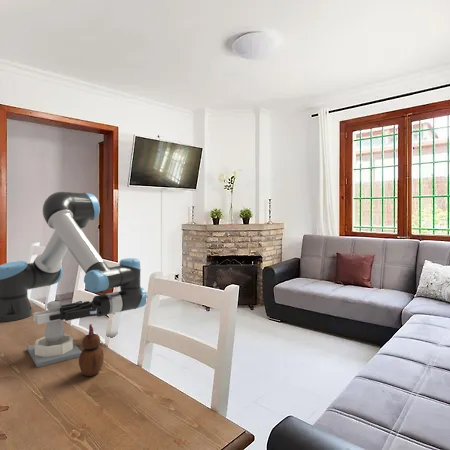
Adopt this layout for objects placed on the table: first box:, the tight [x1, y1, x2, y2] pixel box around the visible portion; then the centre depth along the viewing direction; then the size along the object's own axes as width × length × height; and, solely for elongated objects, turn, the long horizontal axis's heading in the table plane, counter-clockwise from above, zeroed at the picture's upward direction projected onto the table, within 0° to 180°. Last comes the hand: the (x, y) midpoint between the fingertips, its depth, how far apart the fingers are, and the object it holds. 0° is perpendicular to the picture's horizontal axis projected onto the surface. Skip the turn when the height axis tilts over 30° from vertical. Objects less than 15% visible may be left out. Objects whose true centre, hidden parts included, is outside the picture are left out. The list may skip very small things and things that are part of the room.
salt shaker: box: [44, 300, 65, 343], centre depth 111 cm, size 6×6×13 cm
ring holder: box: [34, 333, 74, 357], centre depth 112 cm, size 11×11×3 cm
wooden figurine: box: [78, 323, 105, 377], centre depth 98 cm, size 7×6×15 cm
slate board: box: [26, 342, 83, 368], centre depth 112 cm, size 16×13×1 cm
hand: (35, 318), depth 107 cm, fingers closed on salt shaker, 3 cm apart
